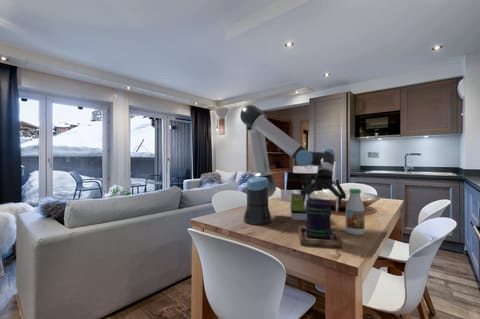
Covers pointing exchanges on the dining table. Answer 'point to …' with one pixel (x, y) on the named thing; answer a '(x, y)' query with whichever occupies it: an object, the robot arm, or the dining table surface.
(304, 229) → the tray
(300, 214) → the tea box
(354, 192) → the milk bottle
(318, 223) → the storage jar
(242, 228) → the dining table surface
